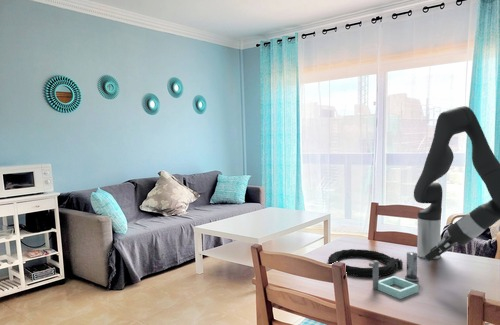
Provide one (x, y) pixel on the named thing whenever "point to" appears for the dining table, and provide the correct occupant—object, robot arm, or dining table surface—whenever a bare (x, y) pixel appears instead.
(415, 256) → the pin
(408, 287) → the teal rectangular frame
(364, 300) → the dining table surface
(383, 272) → the cable lock
